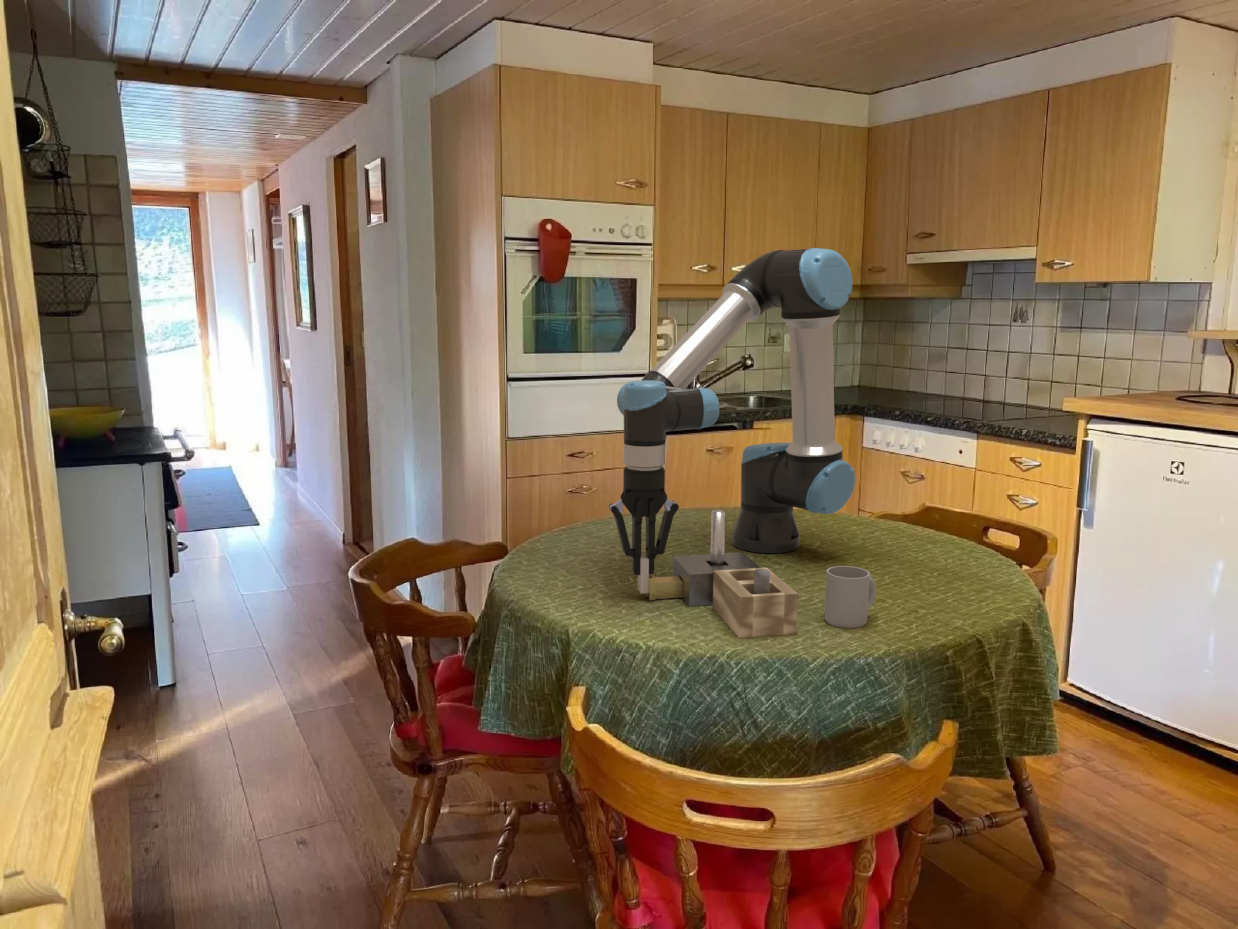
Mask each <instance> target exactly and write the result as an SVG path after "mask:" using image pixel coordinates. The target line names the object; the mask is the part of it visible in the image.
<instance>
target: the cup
mask: <svg viewBox="0 0 1238 929" xmlns="http://www.w3.org/2000/svg"><path fill="white" fill-rule="evenodd" d="M825 574H826V576H825V577H826V578H825V580H826V581H825V599H824V620H825V621H826V623H827V624H829V625H831V626H833V627H836V628H837V627H838V628H841V629H859V628H862V627H864V626H865V625H866V624H867V622H868V616H869V615H868V614H869V613H868V612H869V610H870V609H871V607H872V606H873V604H874V602H875V598H876V594H877V586H876V582H875V579H874V578H873V577H872V576H871V573H870V571H868V570H867V569H864V568H861V567H858V566H850V565H836V566H832V567H828V568H827V569H826V573H825Z"/></svg>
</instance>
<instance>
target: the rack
mask: <svg viewBox="0 0 1238 929" xmlns="http://www.w3.org/2000/svg"><path fill="white" fill-rule="evenodd" d="M798 602H799V594H798V592H796V590H794V589H793V588H792V587H791V586H790V585H789V584H787V583H786V582H784V580H782V579H781V578H780V577H779V576H778V575H776V574H775V573H774V572H773V571H772V570H770V569H769V567H760V568H750V569H733V570H715V571H714V576H713V605H712V609H713V610H714V611H715V612H716V613H717V615H719V617H720V618H721V620H723V622H724V623H726V625H727V626H728V627H729V628H730V629H731V631H733V633H734V634H735V635H736V636H737V637H738V638H739V639H743V638H756V637H757V638H758V637H771V636H785V635H786V636H787V635H797V630H798V628H797V625H798V606H799V605H798Z"/></svg>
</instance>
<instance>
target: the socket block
mask: <svg viewBox="0 0 1238 929" xmlns="http://www.w3.org/2000/svg"><path fill="white" fill-rule="evenodd" d="M710 554H711V553H710ZM710 554H709V553H707V554H706V553H705V554H692V555H689V554H688V555H687V554H686V555H673V557H672V576H681V578H682V579H683V597H682V599H683V600H684V602H685V604H687V606H688V607H700V606H713V576H714V571H715V570H733V569H750V568H761V566H759V565H758V564H757V563H756V562H754V560H752V559H751V558H750V557H748V556H747V555H746V554H745V553H744V552H724V566H710Z"/></svg>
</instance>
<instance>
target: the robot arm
mask: <svg viewBox="0 0 1238 929" xmlns="http://www.w3.org/2000/svg"><path fill="white" fill-rule="evenodd" d="M852 291H853V276H852V272H851V268H850V266H849V263H848V261H847V260H846V259H845V258H843V256H842V254H840V253H839V252H837V251H836V250H833V249H830V248H820V247H818V248H817V247H812V248H803V249H801V248H800V249H777V250H771V251H769V252H766V253H764V254H762V255H761V256H759V257H757V258H755V259H754V260H752V261H751V262H749V263H748V264H747V265H745V266H744V267H743V268H742V269H741V270H740V271H739V272H737V273H736V274H735V275H733V277H732V278H731V279H730V280H729V281H728V282H727V283H726V284H725V285H724V286H723V288H722V290H721V294H722V296H720V298H719V299H717V301H716V302H715V303H714V304H712V305H711V307H710V308H709V309H708V310H706V312H705V313H704V314H703V315H702V316H701V318H699V319H698V320H697V322H695V324H694V325H693V326H692V327H691V328H690V329H689V330H688V331H686V333H685V334H684V335H683V336H682V337H681V338H680V339H679V340H678V342H676V343H675V344H674V345H673V347H671V349H670V350H668V352H667V353H666V354H665V355H664V356H663V357H662V358H661V359H660V360H659V361H658V362H657V363H656V364H655V365H654V366H653V367H652V368H651V369H650V370H649V371H648V372H647V373H646V374H645V376H643V377H642V378H641V380H632V381H629V382H627V383H625V384H623V385H622V386H621V387H620V389H619V391H618V394H617V397H616V404H617V405H616V406H617V408H618V411H619V412H620V413H621V415H622V416H623V464H624V465H625V467H624V468H623V482H622V483H623V485H622V486H623V488H622V493H621V495H620V499H619V500H617V501H616V502H614V503H610V504H609V505H608V509H609V511H610V513H612V516H613V517H614V521H615V525H616V528H617V533H618V537H619V541H620V544H621V549H622V552H623V554H625V556H626V557H631V558H632V573H633V574H634V576H637V590H638V592H639V594H645V593H649V574H652V575H654V573H655V559H656V558H657V556H658V555H663V554H664V553H665V552H666V551H665V550H666V546H667V542H668V539H669V534H670V532H671V527H672V523H673V519H674V517H675V515H676V513H677V511H678V510H679V509H680V507H679V506H680V505H679V504H678V503H677V502H675V501H674V500H671V499H669V498H668V495H667V493H666V491H665V489H666V488H665V487H666V485H665V482H666V479H665V477H666V470H665V468H664V467H663V466H664V465H665V464H666V435H667V434H666V433H667V432H676V431H678V432H679V431H686V430H698V431H699V430H701V429H703V428H709V427H711V426H713V425H714V424H715V423H716V422H717V421H718V418H719V415H720V402H719V398H718V396H717V395H716V393H715V392H714V391H713V390H711V389H710V388H707V387H704V388H703V387H693V388H687V387H688V386H689V385H690V384H692V382H693V380H695V379H696V377H697V376H698V375H699V374H700V373H701V372H702V371H703V370H704V369H705V368H706V367H707V366H708V365H709V364H710V363H711V362H712V361H713V360H714V358H715V357H716V356H717V355H718V354H719V353H721V351H722V350H723V348H725V347H726V346H727V344H728V343H729V342H731V340H732V339H733V338H734V337H735V336H736V335H737V334H738V333H739V332H740V330H741V329H743V328H744V326H745V325H746V324H747V323H748V322H754V321H756V320H757V319H759V318H760V316H761V315H763V314H764V313H765V312H766V311H769V310H771V309H775V308H780V312H781V313H780V314H781V315H780V317H781V320H782V321H783V322H784V323H785V324H786V325H787V326H788V328H789V353H790V354H789V358H790V360H789V361H790V388H791V389H790V391H791V392H790V395H791V421H792V422H791V424H792V430H791V431H792V441H791V442H768V443H758V444H751V445H747V446H746V447H744V448H743V451H742V456H741V457H742V458H741V463H740V466H741V468H740V469H741V471H740V472H741V474H740V478H741V479H740V484H741V485H740V511H739V514H738V517H737V519H736V523H735V525H734V528H733V530H732V534H731V536H732V537H731V543H732V545H733V547H735V548H737V549H740V550H742V551H745V552H746V551H747V552H751V553H761V554H784V553H788V552H790V553H791V552H793V551H796V550H797V549H799V548H800V547H801V546H800V543H801V535H800V532H799V529H798V525H797V521H796V518H795V515H794V508H797V509H800V510H804V511H806V512H807V511H808V512H809V513H813V514H822V515H831V514H836V513H837V512H838V511H840V510H841V509H843V507H845V506H846V504H847V503H848V501H849V500H850V498H851V496H852V494H853V492H854V489H855V485H856V483H855V482H856V474H855V470H854V468H853V467H852V465H851V463H849V462H847V461H846V460H844V458H843V457H844V456H843V446H842V445H841V444H840V443H838V442H837V440H836V437H835V436H836V435H835V428H836V427H835V391H834V390H835V388H834V387H835V386H834V384H835V383H834V378H835V377H834V339H833V338H834V333H833V331H834V330H833V326H834V324H835V323H836V321H837V320H838V319H839V318H840V317H841V308H842V307H844V306H845V305H846V304H847V302H848V301H849V296H851V294H852ZM624 506H625V508H626V510H627V511H628V512H629V514H631V520H632V521H631V522H632V524H631V525H632V526H631V527H632V529H631V533H632V534H631V538H632V539H631V540H632V541H631V543H632V544H630V541H629V540H630V539H629V537H628V532H627V528H626V524H625V519H624V517H623V514H622V513H624ZM662 508H663V510H664V511H663V514H662V518H661V522H660V526H659V531H658V533H657V538H656V521H657V514H658V513H659V512H660V510H661V509H662ZM644 517H645V554H642V525H643V524H642V523H643V518H644Z"/></svg>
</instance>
